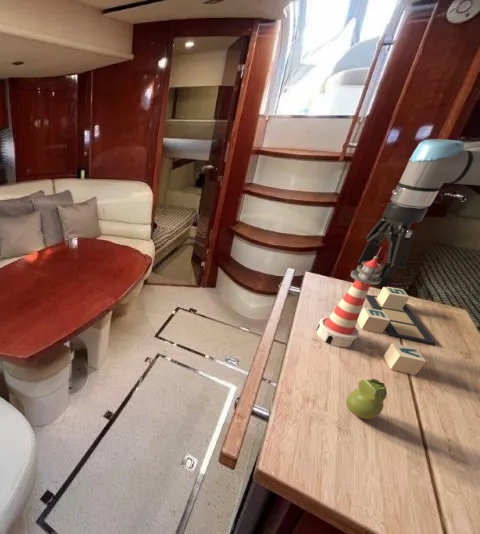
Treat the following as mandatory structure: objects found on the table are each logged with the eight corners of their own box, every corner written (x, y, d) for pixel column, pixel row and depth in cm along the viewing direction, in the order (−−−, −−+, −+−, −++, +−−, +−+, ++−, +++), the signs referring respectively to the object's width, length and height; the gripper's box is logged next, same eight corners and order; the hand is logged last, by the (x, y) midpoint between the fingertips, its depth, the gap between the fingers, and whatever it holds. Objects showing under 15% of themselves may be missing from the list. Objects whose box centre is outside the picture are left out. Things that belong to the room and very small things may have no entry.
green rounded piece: (379, 423, 67) (402, 394, 62) (355, 424, 67) (376, 394, 62) (358, 401, 71) (378, 372, 66) (336, 402, 71) (354, 372, 66)
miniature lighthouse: (348, 353, 84) (403, 259, 69) (310, 336, 90) (353, 245, 75) (357, 338, 89) (410, 247, 74) (320, 323, 95) (362, 235, 80)
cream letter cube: (406, 361, 81) (417, 347, 79) (415, 375, 77) (426, 361, 75) (383, 356, 83) (392, 342, 81) (390, 369, 79) (400, 355, 77)
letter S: (395, 301, 103) (403, 288, 100) (401, 309, 99) (410, 296, 96) (376, 298, 105) (384, 285, 102) (382, 306, 101) (389, 293, 98)
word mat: (401, 302, 103) (403, 300, 103) (434, 345, 86) (436, 343, 86) (365, 296, 107) (366, 294, 107) (389, 336, 90) (390, 333, 89)
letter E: (376, 323, 95) (384, 310, 92) (382, 333, 91) (390, 320, 88) (356, 319, 97) (363, 306, 94) (361, 329, 93) (369, 315, 90)
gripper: (373, 190, 90) (343, 253, 100) (411, 218, 70) (369, 293, 81) (406, 192, 87) (372, 257, 98) (455, 222, 67) (406, 300, 78)
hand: (371, 274), depth 89 cm, fingers open, 13 cm apart
